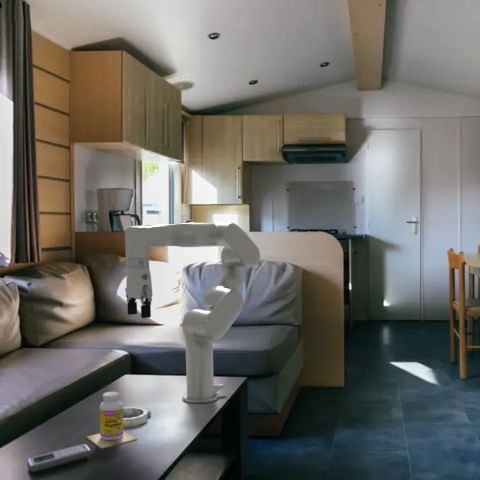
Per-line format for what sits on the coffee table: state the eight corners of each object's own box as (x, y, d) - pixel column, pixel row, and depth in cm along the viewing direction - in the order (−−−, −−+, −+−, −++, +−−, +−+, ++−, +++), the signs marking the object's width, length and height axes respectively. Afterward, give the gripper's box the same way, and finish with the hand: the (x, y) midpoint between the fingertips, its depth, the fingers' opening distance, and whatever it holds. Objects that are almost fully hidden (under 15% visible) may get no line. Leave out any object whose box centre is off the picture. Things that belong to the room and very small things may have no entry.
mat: (120, 429, 194) (120, 428, 194) (136, 439, 185) (136, 438, 185) (86, 437, 187) (86, 436, 187) (101, 448, 178) (101, 447, 178)
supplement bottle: (102, 442, 182) (100, 398, 182) (99, 435, 188) (97, 392, 188) (125, 439, 184) (124, 395, 184) (121, 432, 191) (120, 389, 190)
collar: (140, 411, 212) (140, 404, 212) (158, 420, 202) (158, 412, 202) (97, 421, 203) (96, 413, 203) (113, 431, 193) (113, 423, 193)
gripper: (160, 264, 203) (162, 317, 203) (136, 261, 217) (137, 311, 218) (139, 265, 198) (140, 320, 199) (115, 263, 212) (117, 314, 213)
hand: (139, 315), depth 208 cm, fingers open, 9 cm apart
